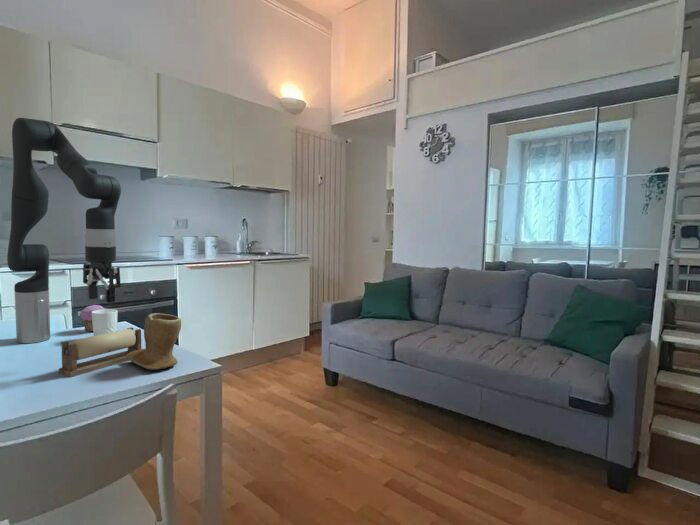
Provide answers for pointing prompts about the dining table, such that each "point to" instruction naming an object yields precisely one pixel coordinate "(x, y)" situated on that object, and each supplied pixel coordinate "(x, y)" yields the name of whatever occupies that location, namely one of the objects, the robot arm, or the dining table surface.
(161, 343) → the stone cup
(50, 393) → the dining table surface
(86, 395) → the dining table surface
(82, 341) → the cylinder
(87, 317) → the cupcake
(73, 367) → the roll stand
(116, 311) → the white cup
